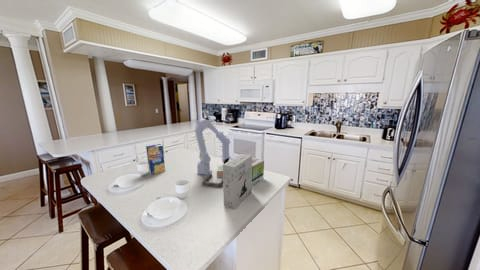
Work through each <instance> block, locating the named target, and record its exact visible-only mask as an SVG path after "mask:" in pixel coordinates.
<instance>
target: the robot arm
mask: <svg viewBox="0 0 480 270" xmlns="http://www.w3.org/2000/svg"><path fill="white" fill-rule="evenodd" d="M194 128H195V129H194V133H195V137H196V140H197V145H198V149H199V159H200V161H198V162H197V174H199V175H206V176H207V175H208V176H209V174H210V173H212V169H211V168H210V167H211V166H210V164H211V163H210V162H211V159H212V158H211V157H210V155H209V153H208V150H207V148H206V147H207V146H206V143H205V139H204V134H203V132H204V131H205V129H210V130H211V132H213V133H214V134H215V137H216V138H217V139H218V140H219V141H220V142H221V146H222V147H221V148H222V151H221V153H222V154H221V158H222V159H221V162H222V163H223V164H225V163H227V162H228V161H230V160H231V155H230V144H231V141H230V138H229V137H228V136H227V135H225V134H224V132H223V131H220V130H218V128H217V127H216V126H215V125H214V124H213V123H212V122H210V121H209V120H208V119H205V118H203V117H201V118H198V120H197V121H196V125H195V127H194Z"/></svg>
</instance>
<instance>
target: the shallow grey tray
mask: <svg viewBox="0 0 480 270" xmlns="http://www.w3.org/2000/svg"><path fill="white" fill-rule="evenodd" d="M212 177H213V173H212V172H210V173H209V174H208V176H207V177H205V178H204V179H203V181H202V182H201V185H202V186H204V187H212V188H219V189H221V188H222V187H223V178H222V179H221V181H220V182H219V183H218V182H211V181H210V180H211V178H212Z"/></svg>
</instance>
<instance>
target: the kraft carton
mask: <svg viewBox="0 0 480 270" xmlns="http://www.w3.org/2000/svg"><path fill="white" fill-rule="evenodd" d="M216 177H217V178H220V177H221V178H222V177H223V164H218V165H216Z"/></svg>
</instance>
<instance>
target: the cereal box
mask: <svg viewBox="0 0 480 270" xmlns="http://www.w3.org/2000/svg"><path fill="white" fill-rule="evenodd" d="M252 159H253V155H251V154H246V153H240V154H239V155H237V156H235V157H234V158H232V159H229V161H228V162H227V163H225V164H224V163H223V164H222V165H223V178H222V179H223V185H222V187H223V206H225V207H227V206H228V207H227V208H230V207H231V209H233V208H234V210H236V209H237V208H238V206H239V205H240V204H241V203H242V202H243V201H244V200H245V199H246V198H247V197H248V196H249V195H250V194H251V193H252V187H253V186H252ZM249 193H250V194H249ZM248 194H249V195H248ZM247 195H248V196H247ZM246 196H247V197H246ZM245 197H246V198H245Z"/></svg>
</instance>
